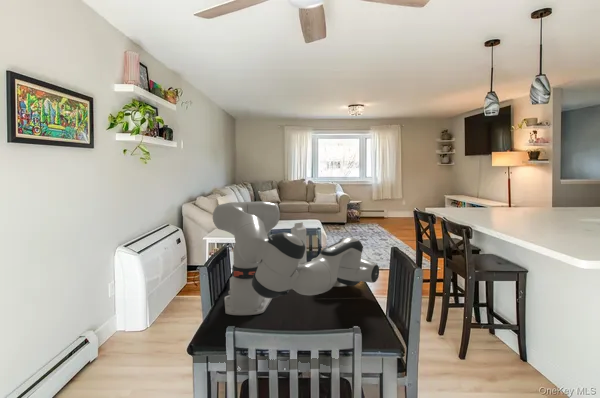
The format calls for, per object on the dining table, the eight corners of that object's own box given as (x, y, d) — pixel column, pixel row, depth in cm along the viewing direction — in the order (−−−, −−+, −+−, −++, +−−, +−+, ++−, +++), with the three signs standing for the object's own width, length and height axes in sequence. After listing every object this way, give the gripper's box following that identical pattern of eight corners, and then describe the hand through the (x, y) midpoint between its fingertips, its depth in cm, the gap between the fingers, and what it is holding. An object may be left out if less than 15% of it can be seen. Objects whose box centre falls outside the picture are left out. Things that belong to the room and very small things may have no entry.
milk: (306, 262, 195) (306, 222, 192) (298, 264, 190) (298, 224, 188) (299, 260, 199) (299, 221, 197) (290, 262, 195) (290, 222, 193)
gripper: (329, 277, 147) (307, 270, 158) (361, 268, 161) (339, 261, 171) (329, 262, 147) (307, 256, 157) (361, 254, 160) (339, 248, 170)
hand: (324, 259), depth 164 cm, fingers closed on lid, 5 cm apart
